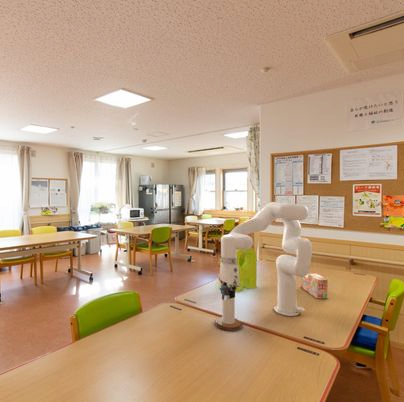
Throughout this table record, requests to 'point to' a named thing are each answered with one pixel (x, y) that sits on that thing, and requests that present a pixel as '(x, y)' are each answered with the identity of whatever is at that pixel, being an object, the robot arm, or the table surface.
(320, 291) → the pink patterned box
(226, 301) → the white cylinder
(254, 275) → the decorative object
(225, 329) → the base
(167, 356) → the table surface
